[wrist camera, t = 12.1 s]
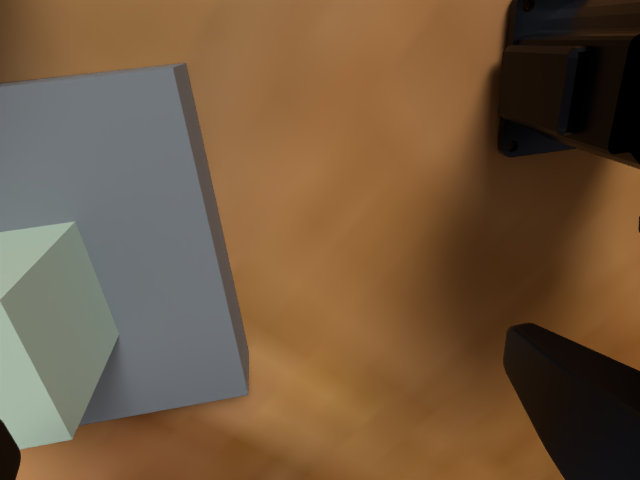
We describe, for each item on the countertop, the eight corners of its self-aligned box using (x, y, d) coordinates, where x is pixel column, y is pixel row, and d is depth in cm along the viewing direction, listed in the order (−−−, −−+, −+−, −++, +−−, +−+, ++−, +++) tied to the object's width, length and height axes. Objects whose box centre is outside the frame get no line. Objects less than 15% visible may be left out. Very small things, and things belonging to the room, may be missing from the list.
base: (185, 62, 16) (172, 67, 13) (248, 351, 22) (248, 394, 19) (-224, 108, 15) (-330, 123, 12) (-36, 400, 21) (-78, 454, 18)
